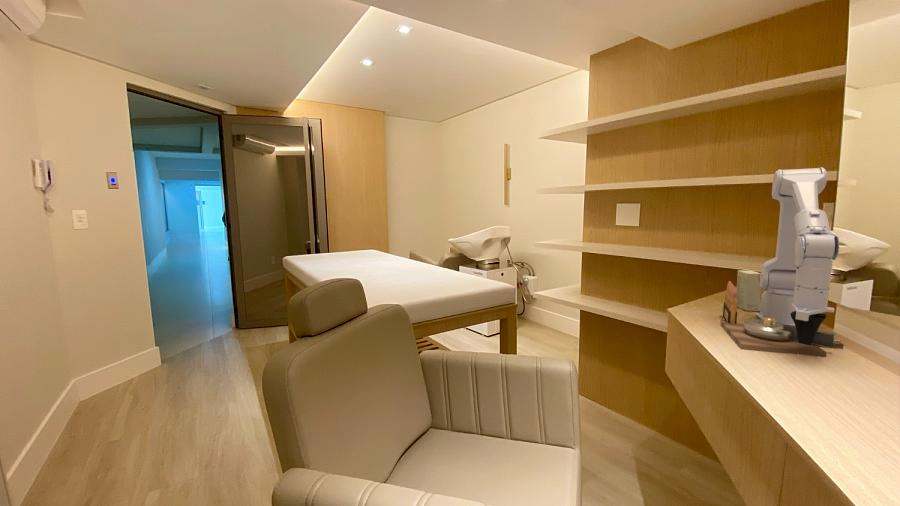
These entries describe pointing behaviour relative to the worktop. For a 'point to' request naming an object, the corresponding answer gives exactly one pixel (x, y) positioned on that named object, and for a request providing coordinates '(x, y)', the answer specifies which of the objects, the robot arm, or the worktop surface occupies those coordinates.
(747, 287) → the skincare box
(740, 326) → the walnut stand
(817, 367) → the worktop surface
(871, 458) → the worktop surface
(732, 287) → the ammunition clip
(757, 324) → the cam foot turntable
